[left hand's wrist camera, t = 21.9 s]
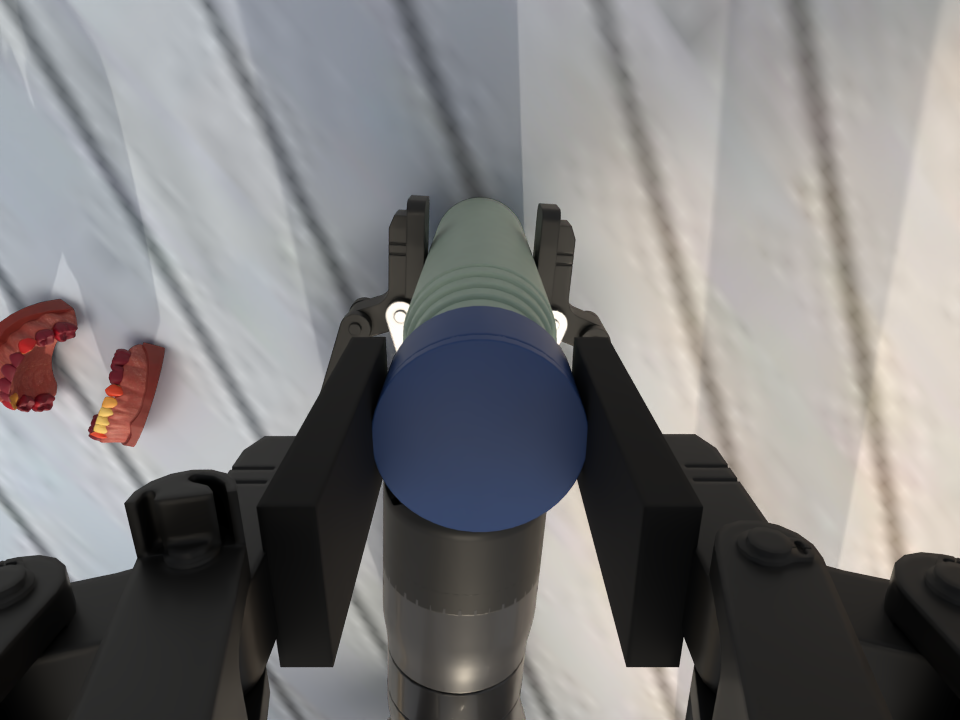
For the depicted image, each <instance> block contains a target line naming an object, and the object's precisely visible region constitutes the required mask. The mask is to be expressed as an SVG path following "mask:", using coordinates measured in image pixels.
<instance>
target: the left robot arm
mask: <svg viewBox="0 0 960 720" xmlns="http://www.w3.org/2000/svg"><path fill="white" fill-rule="evenodd" d="M387 373H388V371H387V354H386V337H352V338H351V339H350V341H349V343H348V345H347V346H346V348H345V350H344V352H343V354H342V355H341V357H340V359H339V361H338V362H337V364H336V366H335V368H334V369H333V371H332V373H331V375H330V377H329V378H328V380H327V382H326V384H325V385H324V387H323V389H322V391H321V393H320V394H319V396H318V398H317V400H316V401H315V403H314V405H313V407H312V409H311V410H310V412H309V414H308V416H307V417H306V419H305V421H304V423H303V425H302V426H301V428H300V430H299V432H298V433H297V435H296V436H264V437H263V438H261V439H260V440H258V441H257V442H255V443H254V444H252V445H251V446H249V447H248V448H246V449H245V450H243V452H242V453H241V455H240V456H239V458H238V459H237V461H236V462H235V463H234V465H233V466H232V470H230V471H229V472H228V474H227V473H223V472H219V471H215V470H189V471H184V472H178V473H173V474H170V475H167V476H164V477H162V478H159V479H156V480H154V481H151V482H149V483H148V484H146V485H145V486H143V487H141V488H140V489H138V490H136V491H135V492H134V493H133V494H132V495H131V496H130V497H129V499H128V500H127V501H126V502H125V503H124V505H125V509H126V513H127V517H128V521H129V525H130V529H131V534H132V538H133V542H134V546H135V550H136V554H137V560H136V563H135V565H134V567H133V569H130V570H126V571H123V572H119V573H115V574H110V575H105V576H100V577H96V578H91V579H86V580H81V581H76V582H71V583H70V580H69V577H68V573H67V570H66V566H65V565H64V564H63V563H61V562H60V561H59V560H58V559H57V558H53V557H48V556H42V555H35V556H25V557H16V558H12V559H7V560H6V561H0V720H267V716H268V707H269V697H270V689H269V682H268V676H267V670H266V664H267V661H268V659H269V656H270V654H271V651H272V648H273V646H274V643H275V641H277V647H278V654H279V660H280V667H333V666H334V662H335V658H336V654H337V650H338V647H339V643H340V639H341V635H342V631H343V628H344V624H345V620H346V616H347V612H348V609H349V605H350V601H351V597H352V593H353V590H354V586H355V582H356V578H357V574H358V571H359V567H360V563H361V559H362V555H363V552H364V548H365V544H366V540H367V536H368V532H369V529H370V525H371V521H372V517H373V513H374V510H375V506H376V502H377V498H378V494H379V491H380V487H381V483H382V479H383V478H382V476H381V475H380V473H379V471H378V468H377V465H376V463H375V460H374V451H373V437H372V419H373V415H374V411H375V408H376V405H377V402H378V399H379V396H380V393H381V390H382V388H383V385H384V382H385V379H386V376H387ZM572 374H573V377H574V380H575V383H576V386H577V389H578V391H579V394H580V397H581V400H582V403H583V406H584V408H585V412H586V416H587V421H588V430H587V445H586V458H585V462H584V465H583V467H582V470H581V472H580V474H579V476H578V478H577V481H578V485H579V488H580V492H581V496H582V500H583V504H584V507H585V511H586V515H587V519H588V523H589V526H590V530H591V534H592V538H593V542H594V545H595V549H596V553H597V557H598V561H599V564H600V568H601V572H602V576H603V580H604V584H605V587H606V591H607V595H608V599H609V603H610V606H611V610H612V614H613V618H614V622H615V625H616V629H617V633H618V637H619V641H620V644H621V648H622V652H623V656H624V660H625V663H626V667H679V664H680V658H681V651H682V644H683V638H684V639H685V641H686V644H687V646H688V649H689V651H690V654H691V657H692V659H693V662H694V670H693V676H692V682H691V688H690V694H689V700H688V706H687V713H686V719H685V720H960V558H954V557H953V556H948V555H943V554H934V553H924V552H919V553H914V554H908V555H904V556H903V557H901V558H900V559H899V560H898V561H897V562H895V564H894V568H893V571H892V575H891V578H890V580H887V579H882V578H878V577H873V576H868V575H863V574H858V573H853V572H848V571H844V570H840V569H836V568H833V567H829V566H826V564H825V562H824V559H823V557H822V556H821V554H820V553H819V552H818V550H817V549H816V548H815V546H814V545H813V544H812V543H810V542H809V541H807V540H806V539H805V538H803V537H802V536H801V535H799V534H798V533H796V532H793V531H791V530H789V529H786V528H784V527H782V526H779V525H776V524H771V523H768V522H767V520H766V519H765V517H764V516H763V514H762V513H761V512H760V510H759V509H758V507H757V506H756V504H755V503H754V502H753V500H752V499H751V497H750V496H749V494H748V493H747V492H746V490H745V489H744V487H743V486H742V484H741V483H740V482H737V477H736V476H735V474H734V473H733V471H732V470H731V469H730V468H728V464H727V463H726V461H725V460H724V459H723V457H722V456H721V454H720V453H719V451H718V450H717V449H716V448H715V447H714V446H712V445H711V444H709V443H708V442H706V441H705V440H703V439H702V438H700V437H699V436H697V435H696V434H662V432H661V431H660V429H659V427H658V425H657V424H656V422H655V420H654V418H653V416H652V415H651V413H650V411H649V409H648V408H647V406H646V404H645V402H644V400H643V399H642V397H641V395H640V393H639V392H638V390H637V388H636V386H635V384H634V383H633V381H632V379H631V377H630V376H629V374H628V372H627V370H626V368H625V367H624V365H623V363H622V361H621V360H620V358H619V356H618V354H617V352H616V351H615V349H614V347H613V345H612V344H611V342H610V340H609V338H608V337H574V347H573V364H572Z"/></svg>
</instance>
